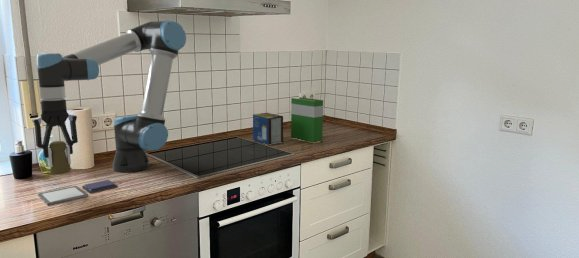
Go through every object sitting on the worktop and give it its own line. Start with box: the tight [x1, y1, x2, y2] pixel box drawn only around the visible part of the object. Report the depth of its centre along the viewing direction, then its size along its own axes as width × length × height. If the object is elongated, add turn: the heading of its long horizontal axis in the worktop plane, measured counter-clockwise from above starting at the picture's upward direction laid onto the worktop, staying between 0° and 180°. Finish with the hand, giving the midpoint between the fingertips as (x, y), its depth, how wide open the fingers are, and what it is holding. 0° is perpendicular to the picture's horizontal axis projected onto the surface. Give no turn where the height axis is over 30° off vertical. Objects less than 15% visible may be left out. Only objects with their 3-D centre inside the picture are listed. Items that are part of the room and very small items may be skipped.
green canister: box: [290, 96, 324, 142], centre depth 239 cm, size 18×7×24 cm, turn 45°
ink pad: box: [81, 179, 118, 194], centre depth 158 cm, size 10×8×1 cm
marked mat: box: [37, 185, 89, 206], centre depth 149 cm, size 13×13×1 cm
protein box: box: [252, 112, 284, 146], centre depth 235 cm, size 10×15×16 cm
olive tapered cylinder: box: [48, 140, 71, 175], centre depth 146 cm, size 6×6×11 cm
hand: (59, 164), depth 147 cm, fingers closed on olive tapered cylinder, 5 cm apart
